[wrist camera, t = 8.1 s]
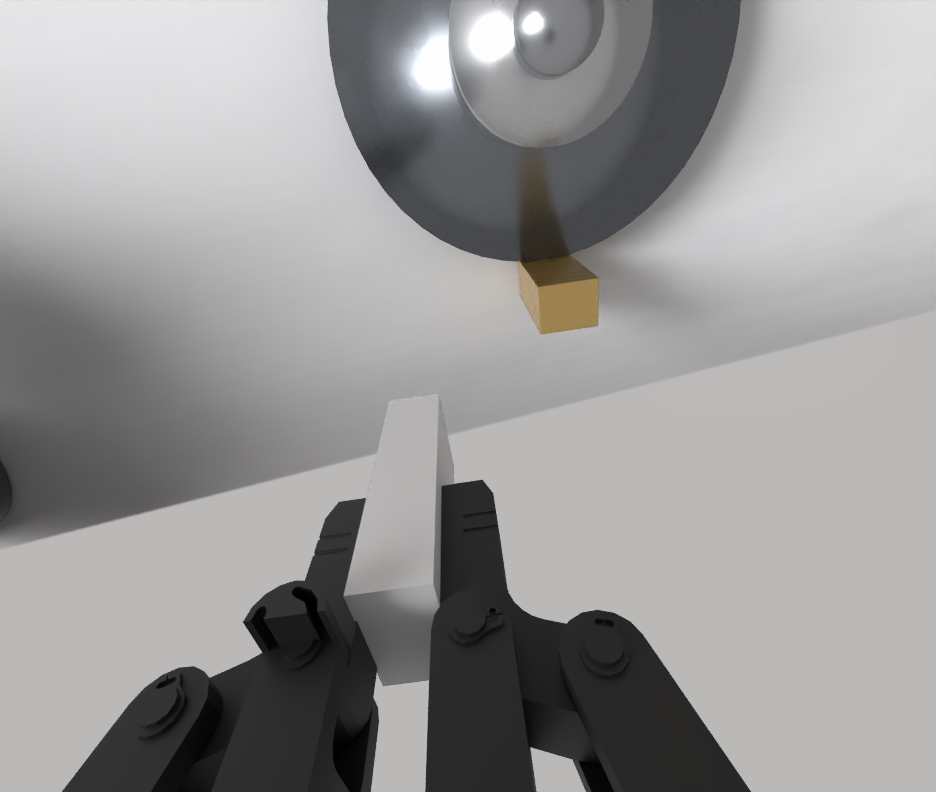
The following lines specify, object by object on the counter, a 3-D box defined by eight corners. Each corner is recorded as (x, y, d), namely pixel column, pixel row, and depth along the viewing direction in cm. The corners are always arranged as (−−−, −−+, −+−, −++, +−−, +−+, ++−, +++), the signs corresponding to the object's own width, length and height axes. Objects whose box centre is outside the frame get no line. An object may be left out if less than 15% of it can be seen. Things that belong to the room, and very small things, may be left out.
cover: (458, 157, 23) (463, 159, 18) (436, -45, 20) (433, -127, 14) (606, 138, 23) (659, 133, 18) (614, -68, 19) (685, -162, 14)
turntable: (394, 315, 29) (380, 358, 23) (275, -199, 18) (190, -379, 12) (694, 270, 29) (762, 301, 22) (757, -286, 18) (923, -522, 12)
